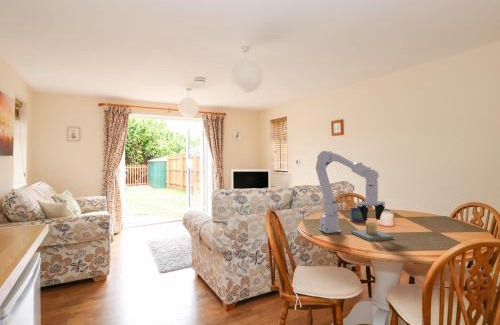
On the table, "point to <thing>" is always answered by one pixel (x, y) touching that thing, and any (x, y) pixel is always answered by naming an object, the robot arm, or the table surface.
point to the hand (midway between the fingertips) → (371, 220)
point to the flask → (356, 215)
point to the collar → (371, 228)
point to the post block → (369, 237)
